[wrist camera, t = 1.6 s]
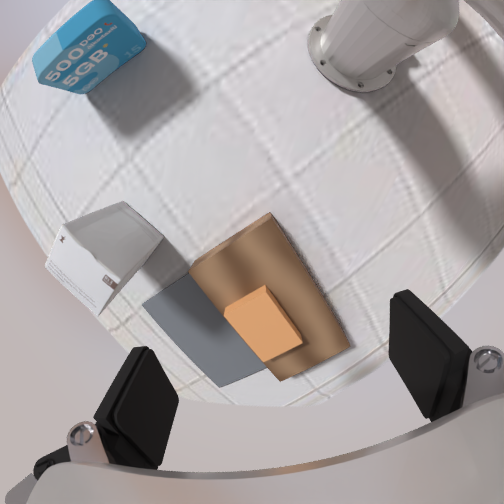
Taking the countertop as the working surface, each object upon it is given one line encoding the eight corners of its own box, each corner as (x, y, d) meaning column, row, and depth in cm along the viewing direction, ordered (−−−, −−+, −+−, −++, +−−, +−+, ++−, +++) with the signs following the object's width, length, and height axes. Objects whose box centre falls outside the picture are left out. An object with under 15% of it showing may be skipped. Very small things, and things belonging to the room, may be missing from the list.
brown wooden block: (270, 211, 34) (271, 218, 31) (343, 331, 40) (350, 346, 36) (194, 260, 37) (188, 271, 33) (278, 365, 42) (280, 381, 38)
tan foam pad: (225, 307, 34) (223, 315, 32) (265, 284, 33) (265, 291, 31) (263, 353, 37) (263, 362, 35) (300, 334, 35) (302, 342, 34)
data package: (85, 96, 29) (32, 83, 18) (76, 77, 28) (26, 61, 16) (150, 46, 27) (112, 10, 16) (138, 28, 26) (101, -8, 14)
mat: (196, 268, 37) (195, 269, 37) (272, 362, 42) (273, 364, 42) (142, 303, 39) (141, 304, 39) (219, 386, 44) (219, 387, 44)
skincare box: (104, 229, 35) (39, 266, 21) (125, 197, 34) (57, 221, 20) (145, 267, 37) (95, 321, 23) (169, 236, 36) (120, 282, 22)
